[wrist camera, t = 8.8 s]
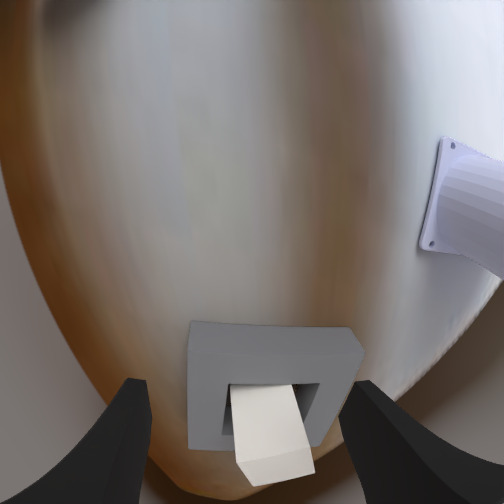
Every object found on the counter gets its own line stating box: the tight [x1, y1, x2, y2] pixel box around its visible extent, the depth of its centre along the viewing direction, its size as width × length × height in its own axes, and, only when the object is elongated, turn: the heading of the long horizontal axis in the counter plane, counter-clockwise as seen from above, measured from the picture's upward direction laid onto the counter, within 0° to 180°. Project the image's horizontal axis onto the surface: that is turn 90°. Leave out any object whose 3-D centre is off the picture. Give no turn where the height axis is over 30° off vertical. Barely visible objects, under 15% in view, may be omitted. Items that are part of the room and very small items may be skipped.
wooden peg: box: [230, 384, 315, 486], centre depth 17 cm, size 4×4×8 cm
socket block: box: [187, 321, 365, 451], centre depth 20 cm, size 11×11×3 cm
